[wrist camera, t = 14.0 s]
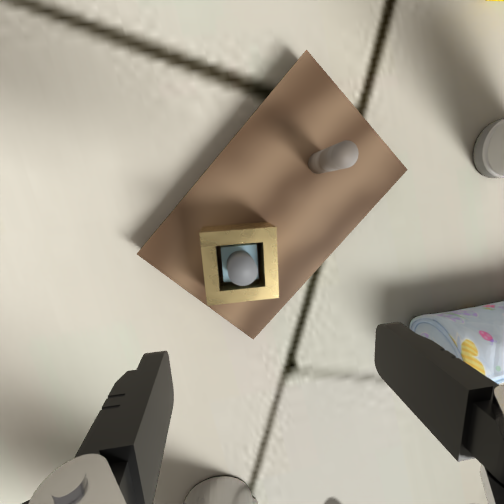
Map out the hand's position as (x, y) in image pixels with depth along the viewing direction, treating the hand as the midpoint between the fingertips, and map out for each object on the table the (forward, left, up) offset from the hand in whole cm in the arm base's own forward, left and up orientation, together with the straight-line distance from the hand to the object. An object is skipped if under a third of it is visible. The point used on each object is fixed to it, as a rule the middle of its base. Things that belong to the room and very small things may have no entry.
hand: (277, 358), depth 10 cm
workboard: (0, -6, -19) cm, 20 cm away
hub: (0, 0, -17) cm, 17 cm away
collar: (0, 0, -17) cm, 17 cm away
